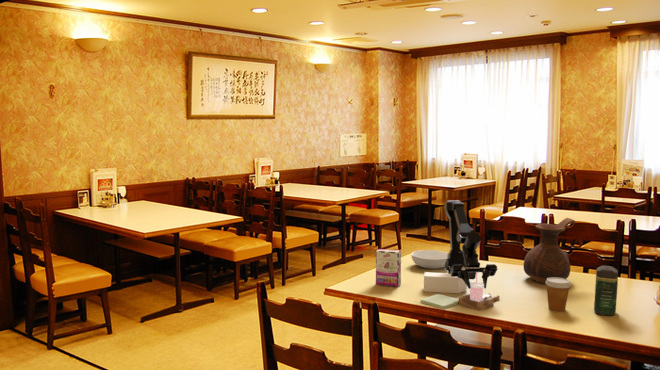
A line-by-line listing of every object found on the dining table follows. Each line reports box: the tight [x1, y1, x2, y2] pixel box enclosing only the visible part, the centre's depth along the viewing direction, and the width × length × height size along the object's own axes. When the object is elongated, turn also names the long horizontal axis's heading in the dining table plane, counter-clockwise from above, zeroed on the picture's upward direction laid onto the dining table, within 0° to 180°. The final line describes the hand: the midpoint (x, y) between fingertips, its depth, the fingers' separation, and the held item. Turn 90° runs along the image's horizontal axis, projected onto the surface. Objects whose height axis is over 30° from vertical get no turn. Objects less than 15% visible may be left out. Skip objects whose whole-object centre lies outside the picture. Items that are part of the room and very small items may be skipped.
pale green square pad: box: [420, 293, 459, 310], centre depth 234 cm, size 12×12×1 cm
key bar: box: [482, 293, 493, 301], centre depth 235 cm, size 6×3×2 cm, turn 133°
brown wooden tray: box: [458, 293, 500, 311], centre depth 234 cm, size 19×10×3 cm, turn 132°
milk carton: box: [423, 271, 468, 294], centre depth 251 cm, size 7×7×19 cm
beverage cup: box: [469, 272, 484, 302], centre depth 230 cm, size 6×6×14 cm
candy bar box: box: [375, 248, 402, 288], centre depth 260 cm, size 11×5×16 cm, turn 68°
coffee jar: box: [593, 264, 619, 316], centre depth 221 cm, size 10×8×19 cm
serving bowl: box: [410, 249, 449, 270], centre depth 294 cm, size 21×21×7 cm
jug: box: [523, 217, 576, 284], centre depth 267 cm, size 22×22×30 cm
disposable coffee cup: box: [544, 277, 571, 312], centre depth 225 cm, size 10×10×12 cm
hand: (477, 288), depth 229 cm, fingers closed on beverage cup, 6 cm apart
